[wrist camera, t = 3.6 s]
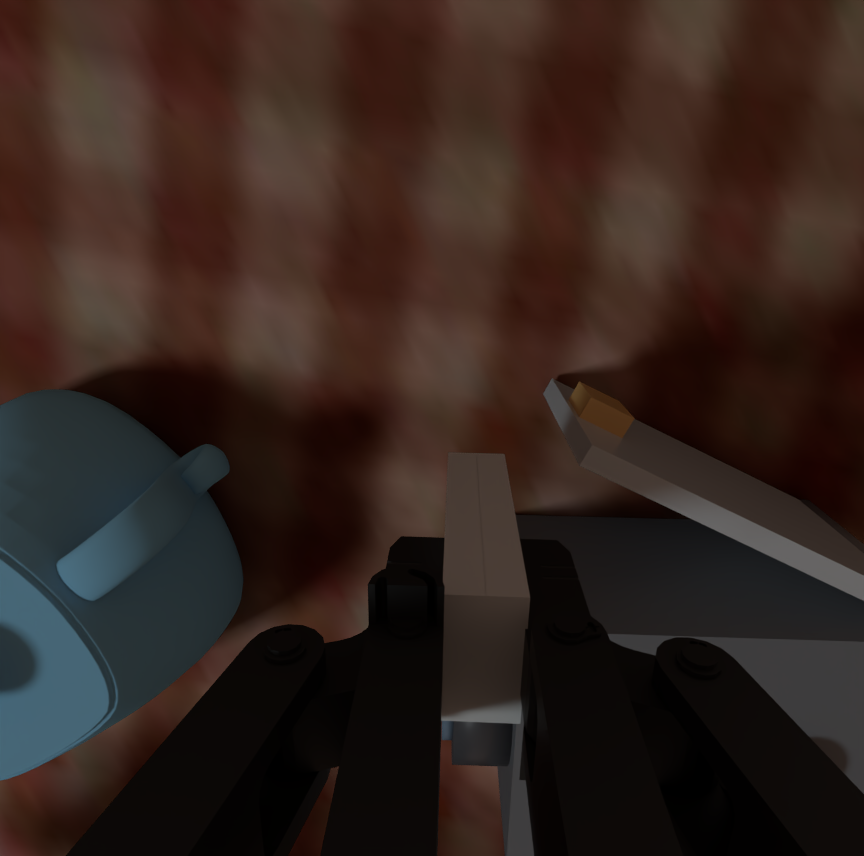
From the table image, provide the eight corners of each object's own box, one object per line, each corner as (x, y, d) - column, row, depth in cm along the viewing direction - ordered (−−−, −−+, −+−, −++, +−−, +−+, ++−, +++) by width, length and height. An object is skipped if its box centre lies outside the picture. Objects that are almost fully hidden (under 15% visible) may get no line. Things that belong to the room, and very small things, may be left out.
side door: (541, 397, 25) (576, 469, 18) (561, 361, 25) (606, 422, 18) (804, 525, 27) (932, 639, 20) (828, 493, 26) (968, 598, 19)
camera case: (442, 702, 31) (438, 886, 22) (446, 512, 27) (444, 645, 19) (746, 712, 30) (858, 902, 22) (787, 522, 27) (937, 661, 19)
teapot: (-491, 704, 18) (-67, 369, 15) (-156, 528, 28) (144, 304, 25) (-148, 959, 22) (270, 735, 18) (44, 720, 32) (335, 546, 28)
